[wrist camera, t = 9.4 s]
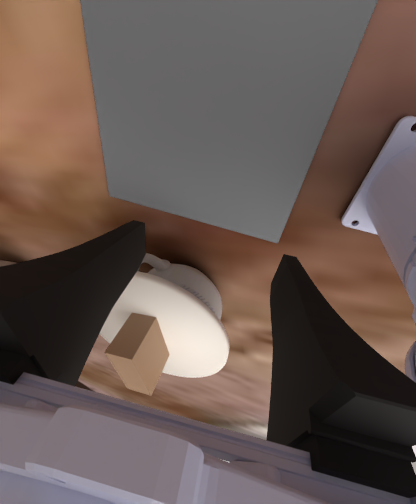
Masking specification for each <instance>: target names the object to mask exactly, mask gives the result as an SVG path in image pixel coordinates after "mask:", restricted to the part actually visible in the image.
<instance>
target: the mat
mask: <svg viewBox="0 0 416 504" xmlns="http://www.w3.org/2000/svg"><path fill="white" fill-rule="evenodd" d="M377 1H378V0H80V2H81V9H82V16H83V22H84V29H85V36H86V43H87V49H88V56H89V63H90V69H91V76H92V83H93V90H94V96H95V103H96V110H97V117H98V123H99V130H100V137H101V143H102V150H103V157H104V164H105V170H106V177H107V184H108V190H109V196H111V197H115V198H118V199H122V200H125V201H129V202H132V203H136V204H139V205H143V206H147V207H150V208H154V209H157V210H161V211H164V212H168V213H171V214H175V215H179V216H182V217H186V218H189V219H193V220H196V221H200V222H203V223H207V224H210V225H214V226H218V227H221V228H225V229H228V230H232V231H235V232H239V233H242V234H246V235H250V236H253V237H257V238H260V239H264V240H267V241H271V242H274V243H278V242H279V239H280V237H281V234H282V232H283V229H284V227H285V225H286V222H287V220H288V217H289V215H290V213H291V210H292V208H293V205H294V203H295V200H296V198H297V196H298V193H299V191H300V188H301V186H302V183H303V181H304V179H305V176H306V174H307V171H308V169H309V166H310V164H311V162H312V159H313V157H314V154H315V152H316V149H317V147H318V145H319V142H320V140H321V137H322V135H323V132H324V130H325V128H326V125H327V123H328V120H329V118H330V115H331V113H332V111H333V108H334V106H335V103H336V101H337V99H338V96H339V94H340V91H341V89H342V86H343V84H344V82H345V79H346V77H347V74H348V72H349V69H350V67H351V65H352V62H353V60H354V57H355V55H356V52H357V50H358V48H359V45H360V43H361V40H362V38H363V35H364V33H365V31H366V28H367V26H368V23H369V21H370V18H371V16H372V14H373V11H374V9H375V6H376V4H377Z"/></svg>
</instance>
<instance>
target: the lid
mask: <svg viewBox="0 0 416 504" xmlns="http://www.w3.org/2000/svg"><path fill="white" fill-rule="evenodd" d="M99 334H100V335H101V336H102V337H103V338H104V339H105V340H106V341H107V342H109V343H110V345H109V346H108V348H107V349H106V351H105V352H104V353H105V354H106V356H107V357H108V359H109V360H110V362H111V364H112V365H113V367H114V368H115V370H116V371H117V373H118V374H119V376H120V377H121V379H122V381H123V382H124V384H125V385H126V387H127V388H128V389H131V390H134V391H138V392H141V393H144V394H147V395H152V393H153V391H154V388H155V386H156V384H157V382H158V380H159V377H160V375H161V373H162V372H163V373H167V374H170V375H175V376H180V377H189V378H198V377H206V376H210V375H212V374H215V373H217V372H218V371H220V370H221V369H222V368H223V367H224V365H225V364H226V361H227V357H228V353H229V347H230V343H229V338H228V335H227V332H226V330H225V328H224V326H223V324H222V323H221V321H220V320H219V319H218V317H217V316H216V315H215V314H214V312H213V311H212V310H211V309H210V308H209V307H208V306H207V305H205V304H204V303H203V302H202V301H201V300H200V299H198V298H197V297H196V296H194V295H193V294H191V293H190V292H188V291H187V290H185V289H183V288H182V287H180V286H178V285H176V284H174V283H172V282H170V281H168V280H165V279H163V278H160V277H158V276H155V275H151V274H148V273H144V272H139V271H137V272H136V274H135V275H134V277H133V278H132V280H131V281H130V283H129V284H128V286H127V287H126V288H125V290H124V291H123V293H122V294H121V296H120V297H119V299H118V300H117V302H116V303H115V305H114V307H113V308H112V310H111V312H110V314H109V316H108V317H107V319H106V321H105V323H104V325H103V327H102V329H101V331H100V333H99Z"/></svg>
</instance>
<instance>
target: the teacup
mask: <svg viewBox="0 0 416 504" xmlns="http://www.w3.org/2000/svg"><path fill="white" fill-rule="evenodd" d="M144 262H145V263H148V264H150V265H151V266H153V267H154V268H153V269H152V270H150V271H149V272H148V274H151V275H155V276H158V277H160V278H163V279H165V280H168V281H170V282H172V283H174V284H176V285H178V286H180V287H182V288H183V289H185V290H187V291H188V292H190V293H191V294H193V295H194V296H196V297H197V298H198V299H200V300H201V301H202V302H203V303H204V304H205V305H207V306H208V307H209V308H210V309H211V310H212V311H213V312H214V314H215V315H216V316H217V317H218V319H219V320H220V319H221V315H222V300H221V296H220V294H219V292H218V290H217V288H216V287H215V285H214V284H213V283H212V282H211V281H210V280H209V279H208V277H207V276H205V275H204V274H203V273H202V272H200V271H199V270H197V269H195V268H193V267H190V266H186V265H181V264H173V263H172V264H171V263H170V262H169V261H168V260H161V259H160V258H158V257H156V256H155V255H152V254H148V253H146V255H145V257H144V259H143V261H142V263H144ZM142 263H141V264H142ZM140 266H141V265H140ZM139 268H140V267H139ZM138 271H139V269H138Z"/></svg>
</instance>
